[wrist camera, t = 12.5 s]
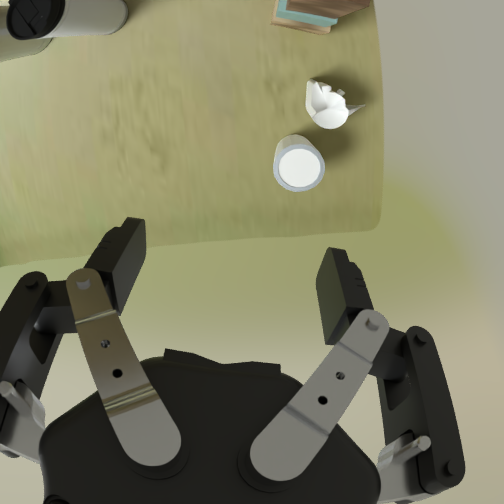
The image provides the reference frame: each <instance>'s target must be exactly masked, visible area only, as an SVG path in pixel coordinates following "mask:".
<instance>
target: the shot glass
mask: <svg viewBox="0 0 504 504" xmlns="http://www.w3.org/2000/svg"><path fill="white" fill-rule="evenodd" d="M273 170H274V176H275V178H276V179H277V181H278V183H279V184H280V185H282V186H283V187H284V188H286V189H288V190H291V191H295V192H299V191H307V190H309V189H311V188H313V187H315V186H316V185H317V184H318V183H319V182H320V181H321V180H322V177H323V174H324V172H325V164H324V160H323V158H322V156H321V154H320V153H319V151H318V150H317V149H316V148H315V147H314V146H313V145H312V144H311V143H310V141H309V140H307V139H306V138H305V137H304V136H300V135H297V134H295V135H288V136H286V137H284V138H282V139H281V141H280V142H279V143H278V145H277V148H276V152H275V158H274V164H273Z"/></svg>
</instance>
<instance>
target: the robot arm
mask: <svg viewBox="0 0 504 504" xmlns="http://www.w3.org/2000/svg"><path fill="white" fill-rule="evenodd" d="M8 8H9V6H0V62H3V61H7V60H11V59H15V58H20V57H25V56H29V55H34V54H37V53H39V52H41V51H42V50H43V49H44V48H45V47H46V46H47V45H48V44H49V43H50V41H51V39H52V37H51V38H41V39H30V40H17V39H15V38H13V37H12V36H11V35H10V33H9V32H8V29H7V26H6V16H7V11H8ZM145 256H146V230H145V220H144V219H139V218H132V217H127V218H126V220H125V221H124V223H123V224H122V226H121V227H114V228H112V229H111V230H110V231H108V232H107V233H106V234H105V235H104V237H103V238H102V240H101V242H100V243H99V244H98V246H97V248H96V249H95V250H94V252H93V254H92V255H91V257H90V258H89V260H88V261H87V263H86V264H85V266H84V268H82V269H78V270H76V271H74V272H72V273H71V274H70V275H69V276H68V278H67V280H63V281H51V282H50V281H49V282H48V280H47V277H46V275H45V274H44V273H42V272H38V271H34V272H30V273H27V274H25V275H24V276H23V277H21V278H20V280H19V281H18V283H17V285H16V286H15V287H14V289H13V291H12V292H11V294H10V296H9V297H8V299H7V301H6V302H5V304H4V306H3V308H2V309H1V311H0V452H2V453H3V454H5V455H6V456H8V457H11V458H17V457H19V456H22V457H24V458H26V459H29V460H31V461H33V462H36V463H38V464H40V466H41V470H42V475H43V481H44V501H43V504H382V503H389V502H395V503H397V504H408V503H412V502H415V501H420V500H423V499H426V498H429V497H432V496H434V495H437V494H439V493H441V492H442V491H444V490H447V489H449V488H452V487H454V486H456V485H458V484H459V483H460V482H461V481H462V479H463V477H464V474H465V461H464V456H463V450H462V444H461V439H460V435H459V430H458V425H457V421H456V416H455V412H454V408H453V404H452V400H451V396H450V392H449V389H448V385H447V381H446V378H445V374H444V371H443V368H442V364H441V362H440V358H439V355H438V352H437V349H436V346H435V343H434V340H433V338H432V336H431V334H430V333H429V332H428V331H427V330H425V329H424V328H422V327H419V326H412V327H410V328H409V329H408V330H407V332H406V333H404V332H401V331H398V330H395V329H393V328H390V327H389V323H388V321H387V320H386V318H385V317H384V316H383V315H382V314H380V313H378V312H377V311H374V308H373V305H372V302H371V299H370V296H369V293H368V290H367V288H366V284H365V281H364V278H363V275H362V273H361V270H360V269H359V268H358V267H357V265H356V264H355V263H354V262H349V259H348V256H347V253H346V251H345V250H343V249H337V248H331V247H329V248H328V249H327V250H326V253H325V255H324V258H323V261H322V264H321V266H320V269H319V271H318V274H317V278H316V290H317V296H318V302H319V307H320V313H321V320H322V326H323V333H324V339H325V344H326V345H334V347H333V349H332V350H331V351H330V352H329V354H328V355H327V356H326V358H325V359H324V360H323V362H322V363H321V364H320V365H319V367H318V368H317V369H316V371H315V372H314V373H313V374H312V376H311V377H310V378H309V379H308V380H307V382H306V383H305V384H304V385H302V384H301V383H300V382H299V381H297V380H296V379H294V378H292V377H290V376H288V375H286V374H284V373H281V370H280V369H281V366H280V364H273V363H263V362H253V361H251V362H242V363H231V364H220V363H218V362H215V361H212V360H209V359H207V358H204V357H202V356H199V355H197V354H194V353H189V352H183V351H177V350H172V349H165V352H164V356H162V357H153V358H149V359H145V360H143V361H141V362H139V360H138V358H137V356H136V354H135V352H134V350H133V348H132V346H131V344H130V342H129V339H128V337H127V335H126V333H125V331H124V328H123V326H122V324H121V322H120V319H119V317H118V316H121V313H122V311H123V308H124V306H125V304H126V301H127V299H128V297H129V294H130V292H131V290H132V287H133V285H134V283H135V280H136V278H137V276H138V274H139V272H140V269H141V267H142V265H143V263H144V260H145ZM64 333H78V335H79V338H80V341H81V345H82V348H83V351H84V354H85V357H86V360H87V362H88V365H89V368H90V371H91V374H92V376H93V379H94V382H95V384H96V387H97V389H98V390H97V391H96V392H95V393H93V394H92V395H90V396H89V397H88V398H86V399H85V400H83V401H82V402H80V403H79V404H77V405H76V406H74V407H73V408H72V409H70V410H69V411H67V412H66V413H64V414H63V415H61V416H60V417H58V418H57V419H56V420H54V421H53V422H52V423H50V424H49V425H48V426H47V427H46V428H45V423H44V420H45V410H44V407H43V405H42V403H41V402H40V401H39V399H40V397H41V393H42V390H43V387H44V384H45V381H46V379H47V375H48V373H49V370H50V367H51V364H52V362H53V359H54V357H55V354H56V351H57V349H58V346H59V344H60V341H61V339H62V336H63V334H64ZM367 374H370V375H373V376H376V378H377V384H378V390H379V397H380V404H381V412H382V418H383V427H384V436H385V445H386V446H385V447H384V448H383V449H382V450H381V452H380V453H379V456H378V463H377V468H376V466H375V464H374V463H373V462H372V461H371V460H370V458H368V456H367V455H366V454H365V453H364V452H363V451H362V450H361V449H360V448H359V447H358V446H357V445H356V443H355V442H354V441H353V440H352V439H351V438H350V437H349V436H348V435H347V433H346V432H345V431H344V430H343V429H342V428H341V427H340V426H339V425H338V423H337V422H338V421H339V419H340V418H341V416H342V415H343V413H344V412H345V410H346V409H347V407H348V405H349V404H350V402H351V401H352V399H353V397H354V396H355V394H356V393H357V391H358V389H359V388H360V386H361V384H362V383H363V381H364V379H365V377H366V376H367ZM408 377H409V378H408Z"/></svg>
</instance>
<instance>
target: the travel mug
mask: <svg viewBox="0 0 504 504" xmlns="http://www.w3.org/2000/svg"><path fill="white" fill-rule="evenodd" d="M8 3H9V4H10V6H9V8H8V11H7V16H6V26H7V29H8V32H9V33H10V35H11V36H12V37H13V38H15V39H17V40H30V39H41V38H51V37H63V36H80V35H109V34H112V33H115V32H116V31H118V30H119V29H120V28H121V27H122V26H123V25H124V23H125V22H126V20H127V17H128V8H127V5H126V3H125V2H124V1H123V0H9V2H8Z"/></svg>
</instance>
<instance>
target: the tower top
mask: <svg viewBox="0 0 504 504" xmlns="http://www.w3.org/2000/svg"><path fill="white" fill-rule="evenodd" d="M286 4H287V0H279V1H278V7H277V12H276V17H278V18H284V19H289V20H295V21H300V22H304V23H309V24H314V25H318V26H322V27H328V26H331V25H334V24H337V20H338V18H337V19H331V18H327V17H322V16H317V15H312V14H307V13H301V12H295V11H289V10H286Z"/></svg>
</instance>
